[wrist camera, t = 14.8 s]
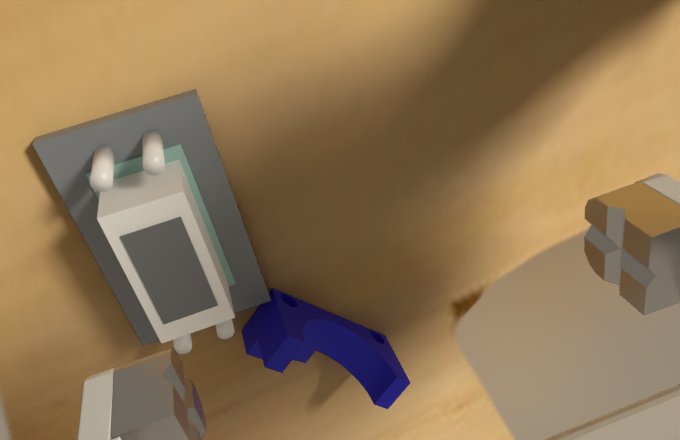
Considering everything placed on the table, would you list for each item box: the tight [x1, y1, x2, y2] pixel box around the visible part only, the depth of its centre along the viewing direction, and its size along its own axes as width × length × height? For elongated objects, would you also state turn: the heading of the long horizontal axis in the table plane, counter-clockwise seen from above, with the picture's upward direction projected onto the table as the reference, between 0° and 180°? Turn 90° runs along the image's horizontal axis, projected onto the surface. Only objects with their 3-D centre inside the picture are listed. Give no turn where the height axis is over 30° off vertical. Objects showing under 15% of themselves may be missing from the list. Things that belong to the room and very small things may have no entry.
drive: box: [97, 160, 235, 344], centre depth 39 cm, size 5×10×5 cm, turn 13°
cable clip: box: [242, 288, 410, 409], centre depth 48 cm, size 12×4×6 cm, turn 54°
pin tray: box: [32, 89, 271, 354], centre depth 39 cm, size 10×17×5 cm, turn 13°
